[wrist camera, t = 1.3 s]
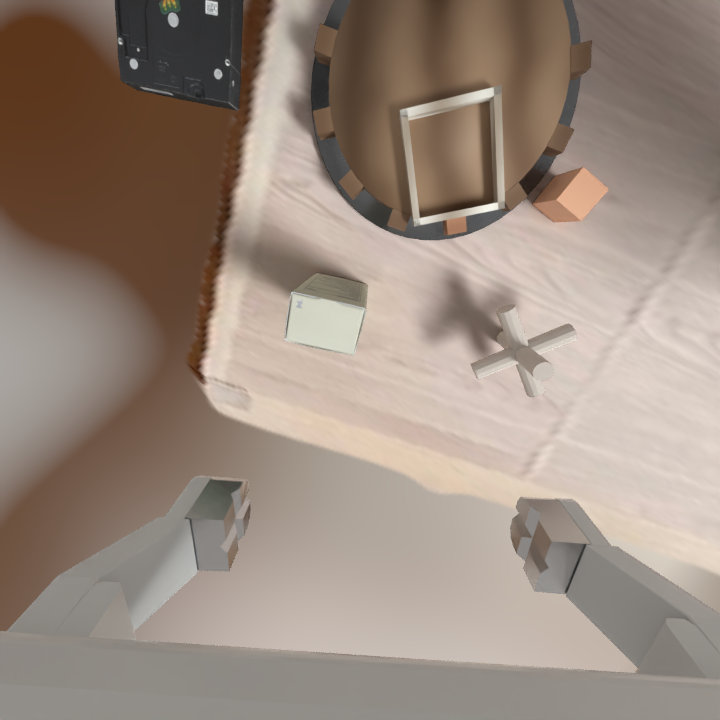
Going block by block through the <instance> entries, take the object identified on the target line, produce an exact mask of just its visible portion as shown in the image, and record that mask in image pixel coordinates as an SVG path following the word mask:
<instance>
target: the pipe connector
mask: <svg viewBox="0 0 720 720" xmlns="http://www.w3.org/2000/svg"><path fill="white" fill-rule="evenodd" d="M496 312H497V315H498V318H499V321H500V323H501V326H502V329H503V331H501V332H500V333H499V334H498V335H497V342H498V343H499V344H500V345H501V346H502V347H503V348H504V349H505V350H502V351H500V352H498V353H495V354H493V355H490V356H488V357H486V358H483V359H481V360H478V361H476V362H474V363H471V366H472V369H473V371H474V373H475V375H476V377H477V379H481V378H483V377H486V376H488V375H491V374H493V373H496V372H498V371H501V370H503V369H506V368H508V367H511V366H513V365H516V366H517V369H518V372H519V375H520V377H521V380H522V383H523V385H524V388H525V391H526V393H527V395H528V396H529V397H537V396H540V395H542V394H544V392H545V389H544V387H543V384H542V381H546V380H548V379H550V378H551V377H552V376H553V374H554V367H553V365H552V364H551V363H549V362H548V361H547V360H546V359H544V358H543V357H542V356H540V354H543V353H545V352H548V351H550V350H553V349H555V348H558V347H560V346H563V345H565V344H568V343H570V342H573V341H575V340H577V333H576V331H575V329H574V328H573V326H572V325H570V324H565V325H563V326H560V327H558V328H556V329H553V330H551V331H548V332H546V333H544V334H541V335H539V336H536V337H534V338H531V339H529V340H527V338H526V335H525V332H524V329H523V327H522V324H521V321H520V318H519V315H518V312H517V309H516V307H515V305H507V306H504V307H502V308H500V309H498V310H497V311H496Z"/></svg>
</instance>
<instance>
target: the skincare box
mask: <svg viewBox="0 0 720 720" xmlns="http://www.w3.org/2000/svg"><path fill="white" fill-rule="evenodd" d="M367 292H368V285H367V284H363V283H360V282H356V281H352V280H348V279H344V278H339V277H335V276H330V275H325V274H320V273H315V274H314V275H313V276H311V277H310V278H309V279H307V280H306V281H305V282H304V283H302V284H301V285H300V286H298V287H297V288H296V289H295V290H293V291H292V292H291V295H290V301H289V307H288V314H287V320H286V328H285V340H286V341H288V342H292V343H295V344H299V345H303V346H307V347H312V348H316V349H321V350H326V351H331V352H336V353H341V354H347V355H352V356H354V355H355V352H356V348H357V345H358V342H359V338H360V334H361V331H362V327H363V322H364V318H365V314H366V305H367Z"/></svg>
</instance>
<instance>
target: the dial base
mask: <svg viewBox="0 0 720 720" xmlns="http://www.w3.org/2000/svg"><path fill="white" fill-rule="evenodd" d="M350 2H351V0H335V1H334V3H333V5H332V7H331V9H330V11H329V14H328V16H327V19H326V21H325V23H324V25H325V26H328V27H330V28H332V29H335V30H337V31H338V30H339V26H340V24H341V21H342V19H343V17H344V14H345V12H346V10H347V7H348V5H349V3H350ZM563 4H564V7H565V11H566V14H567V18H568V23H569V30H570V37H571V45H575V44H579V43H580V35H579V28H578V22H577V18H576V14H575V10H574V7H573V3H572V0H563ZM329 73H330V67H329V66H327V65H325V64H322V63H320V62H318V60H317V57H316V55H315V60H314V66H313V72H312V86H311V102H312V117H313V123H314V130H315V135H316V139H317V143H318V146H319V150H320V153H321V155H322V158H323V161H324V163H325V166H326V168H327V170H328V172H329V174H330V176H331V178H332V179H333V181H334V183H335V185H336V186H337V187H338V189H339V190H340V192H341V193H342V195H343V196H344V197H345V198H346V200H347V201H348V202H349V203H350V204H351V205H352V206H353V207H354V208H355V209H356V210H357V211H358V212H359V213H360V214H362V215H363V216H364V217H365V218H366V219H368V220H369V221H371V222H372V223H374V224H376V225H377V226H379V227H380V228H383V229H385V230H387V231H389V232H391V233H394V234H397V235H400V236H404V237H407V238H413V239H420V240H443V239H451V238H456V237H459V236H463V235H467V234H470V233H472V232H475V231H477V230H480V229H482V228H484V227H486V226H488V225H490V224H492V223H493V222H495V221H497V220H499V219H500V218H501V217H503V216H504V215H506V214H507V213H508V212H510V211H505V212H503V211H502V210H501V209H499V210H494V211H489V212H484V213H479V214H474V215H469V216H466V226H467V232H462V233H457V234H452V235H444V228H443V221H439V222H434V223H429V224H424V225H419V226H413V222H412V217H411V216H410V218H409V221H408V224H407V226H406V229H405V232H403V231H400V230H398V229H395V228H392V227H390V226H387V224H388V221H389V218H390V215H391V212H392V209H390V208H388V207H387V206H385V205H383V204H382V203H380V202H379V201H377V200H376V199H375V198H374V197H373V196H372V195H371V194H369V193H368V192H367V191H366V189H364V190H363V191H362V192H361V193H360V194H359V195H358V196H357V197H356V198H354V199H353V200H352V199H351V197H350V196H349V195H348V194H347V192H346V191H345V190H344V188H343V187H342V186H341V185H340V183H339V181H340V180H341V179H342V178H343V177H344V176H345V175H346V174H347V173H348V172H349V171H350V168H349V166H348V164H347V162H346V160H345V158H344V156H343V154H342V152H341V150H340V147H339V144H338V141H337V139H336V137H333V138H329V139H325V140H321V139H320V138H319V136H318V135H317V130H316V125H315V120H314V115H313V111H314V110H318V109H322V108H326V107H330V104H329ZM579 84H580V77H578V78H577V79H575V80H570V81H569V85H568V90H567V96H566V100H565V103H564V107H563V110H562V113H561V116H560V119H559V121H558V123H560V124H563V125H565V126H567V127H569V126H570V123H571V120H572V117H573V114H574V111H575V106H576V101H577V96H578V91H579ZM556 156H557V155H556ZM556 156H553V157H549V156H547V155H545V154H541V156H540V157H539V159H538V160H537V162H536V163H535V165H534V166H533V167H532V168H531V169H530V171H529V172H528V173H527V174H526V175H525V176H524V177H523V179H522V180H520V181H519V184H520V185H521V187H522V188H523V190H524V192H525V193H526V195H527V196H528V195H529V193H530V192H531V191H532V190H533V189H534V188H535V187H536V185H537V184H538V183H539V182H540V180H541V179H542V178H543V176H544V175H545V173H546V172H547V171H548V169H549V168H550V166H551V164H552V163H553V161H554V159H555V157H556ZM492 203H494V202H492ZM492 203H490V204H492ZM514 208H515V207H514ZM514 208H513V209H514ZM513 209H512V210H513Z"/></svg>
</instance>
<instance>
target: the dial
mask: <svg viewBox="0 0 720 720" xmlns="http://www.w3.org/2000/svg"><path fill="white" fill-rule="evenodd" d="M591 47H592V40H591V41H587V42H583V43H579V44H575V45H571V37H570V30H569V23H568V18H567V14H566V11H565V7H564V4H563V0H351V2H350V3H349V5H348V7H347V10H346V12H345V14H344V17H343V19H342V21H341V24H340V26H339V30H338V31H337V30H335V29H332V28H330V27H328V26H325V25H323V24H320V25H319V29H318V34H317V38H316V42H315V47H314V52H315V55H316V57H317V60H318V62H320V63H322V64H325V65H327V66H329V67H330V73H329V104H330V107H326V108H322V109H318V110H314V111H313V115H314V120H315V125H316V130H317V135H318V136H319V138H320V139H321V140H325V139H329V138H333V137H336V139H337V141H338V144H339V147H340V150H341V152H342V154H343V156H344V158H345V160H346V162H347V164H348V166H349V168H350V171H349V172H348V173H347V174H346V175H345V176H344V177H343V178H342V179H341V180H340V181H339V183H340V185H341V186H342V187H343V188H344V190H345V191H346V192H347V194H348V195H349V196H350V197H351V199H352V200H353V199H354V198H356V197H357V196H358V195H359V194H360V193H361V192H362V191H363V190H364V189H366V191H367V192H368V193H369V194H371V195H372V196H373V197H374V198H375V199H376V200H377V201H379V202H380V203H382V204H383V205H385V206H387V207H388V208H390V209H392V212H391V215H390V218H389V221H388V224H387V226H390V227H392V228H395V229H398V230H400V231H403V232H405V229H406V226H407V224H408V221H409V218H410V216H411V217H412V222H413V226H419V225H424V224H429V223H434V222H439V221H443V228H444V235H452V234H457V233H462V232H467V226H466V216H469V215H474V214H479V213H484V212H489V211H494V210H499V209H501V210H502V211H503V212H505V211H511V210H512V209H513V208H514V207H516V206H517V205H518V204H519V203H520V202H522V201H523V200H524V199H525V198H527V197H528V196H527V195H526V193H525V192H524V190H523V188H522V187H521V185H520V184H519V181H520V180H522V179H523V177H524V176H525V175H526V174H527V173H528V172H529V171H530V169H531V168H532V167H533V166H534V165H535V163H536V162H537V160H538V159H539V157H540V156H541V154H545V155H547V156H549V157H553V156H556V155H558V154H560V153H563V151H564V149H565V147H566V145H567V143H568V141H569V139H570V137H571V135H572V133H573V131H574V129H572V128H570V127H567V126H565V125H563V124H560V123H558V121H559V119H560V116H561V113H562V110H563V107H564V103H565V100H566V96H567V90H568V85H569V81H570V80H575V79H577V78H578V77H580V76H581V75H582V74H584V73H585V72H586V71H587V70H589V69H590V68H591ZM492 202H494V203H492ZM490 203H492V204H490Z"/></svg>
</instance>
